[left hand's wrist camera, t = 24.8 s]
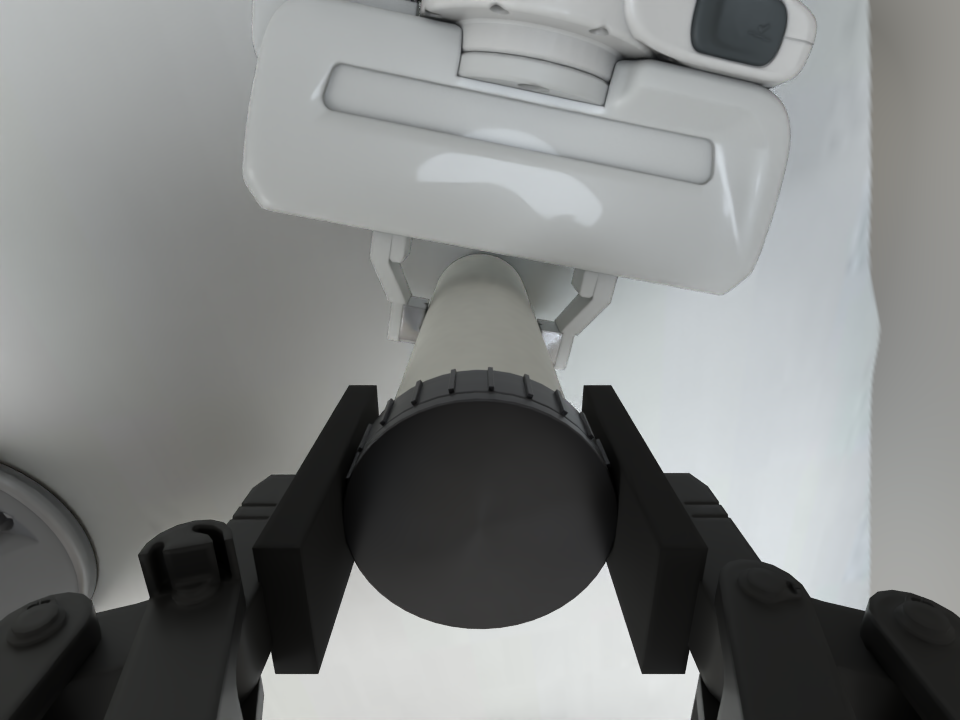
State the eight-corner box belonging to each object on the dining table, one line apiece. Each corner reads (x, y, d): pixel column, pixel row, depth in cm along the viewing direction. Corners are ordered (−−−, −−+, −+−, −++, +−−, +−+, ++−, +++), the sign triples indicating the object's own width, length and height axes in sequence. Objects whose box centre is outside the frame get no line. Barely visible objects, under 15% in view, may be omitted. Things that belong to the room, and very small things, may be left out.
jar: (416, 284, 29) (320, 464, 11) (496, 235, 28) (522, 351, 11) (465, 358, 30) (445, 616, 13) (541, 314, 29) (631, 529, 12)
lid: (447, 312, 11) (442, 336, 9) (657, 456, 12) (682, 496, 11) (309, 505, 13) (287, 550, 11) (506, 614, 14) (509, 669, 12)
